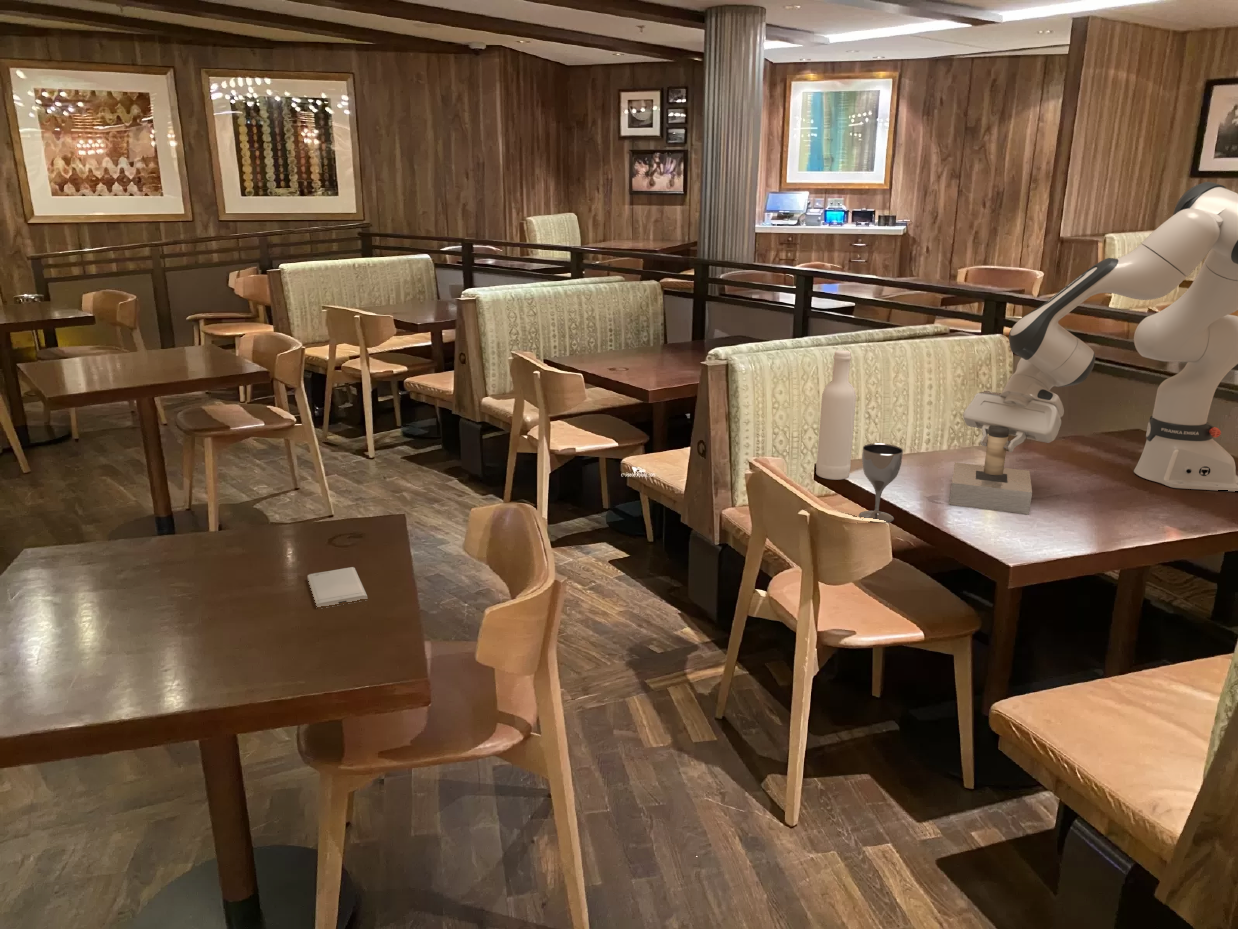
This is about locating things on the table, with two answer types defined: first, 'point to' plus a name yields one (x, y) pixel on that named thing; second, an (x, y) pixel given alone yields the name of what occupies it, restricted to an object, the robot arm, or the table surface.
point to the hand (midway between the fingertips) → (995, 447)
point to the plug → (996, 450)
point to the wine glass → (880, 472)
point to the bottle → (836, 422)
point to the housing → (991, 489)
